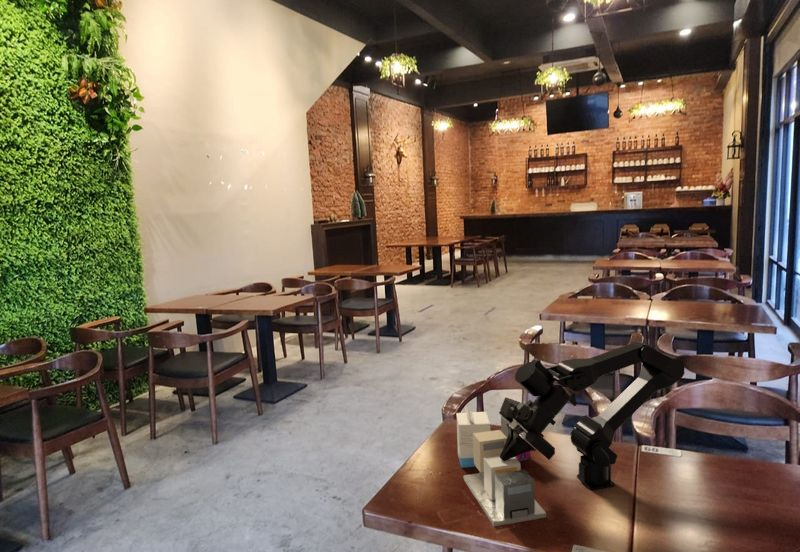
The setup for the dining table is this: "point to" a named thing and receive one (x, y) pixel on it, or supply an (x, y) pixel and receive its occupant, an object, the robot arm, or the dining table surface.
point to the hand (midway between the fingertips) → (501, 459)
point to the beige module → (487, 446)
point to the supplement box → (505, 431)
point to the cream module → (497, 471)
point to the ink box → (469, 434)
